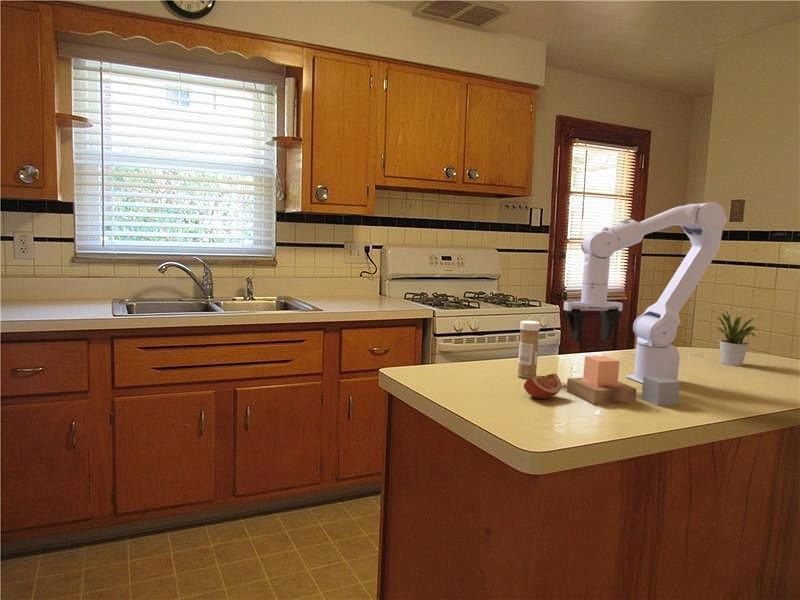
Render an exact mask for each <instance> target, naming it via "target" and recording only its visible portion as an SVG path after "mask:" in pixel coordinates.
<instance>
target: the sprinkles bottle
mask: <svg viewBox="0 0 800 600" xmlns="http://www.w3.org/2000/svg"><path fill="white" fill-rule="evenodd" d="M519 324H520V326H519V329H520V334H519V335H520V336H519V337H520V338H519V347H518V360H517V362H518V365H517V366H518V368H517V377H518V378H521V379H526V380H528V379H529V378H530V377H533V376H538V375H537V367H538V366H537V365H538V353H539V351H538V350H539V333H540V330H541V329H540V328H541V323H540V322H539V321H536V320H521V321H520V323H519Z"/></svg>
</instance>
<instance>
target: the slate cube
mask: <svg viewBox="0 0 800 600" xmlns="http://www.w3.org/2000/svg"><path fill="white" fill-rule="evenodd" d="M680 385H681V381H679V380H677V381H676V380H674V379H671V378H668V377H665V376H644V377H643V383H642V388H641V400H642V401H644V402H648V403H650V404H652V405H654V406H656V407H662V406H663V407H665V406H666V405H668V406H678V405H679V396H680Z"/></svg>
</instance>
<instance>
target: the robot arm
mask: <svg viewBox="0 0 800 600" xmlns="http://www.w3.org/2000/svg"><path fill="white" fill-rule="evenodd" d="M727 223H728V218H727V215H726V213H725V209H724V207H723V205H721V204H720V203H718V202H715V201H709V202H704V203H687V204H684V205H679V206H675V207H673V208H669V209H667V210H665V211H663V212H661V213H659V214H655V215H653V216H650V217H648V218H645V219H644V220H641V221H637V220H635V219H629V218H623V219H621V220H620V223H618V224H615V225H612V226H610V227H608V226H605V227H602V228H601V232H590V233H588V234H587V235H586V236H585V237H584V238H583V240H582V243H580V248H581V251H582V253H583V254H584V260H583V272H582V284H581V285H582V286H581V296H580V298H581V299H580V300H577V301H576V300H575V301H573V300H572V301H564V302H563V310H564V315H565V317H566V319H567V321H568V324H569V326H570V330H571V335H572V336H571V337H572V341H574V342H576V343H579V342H581V338H582V330H583V323H584V320H585V317H586V314H585V313H582V312H583V311H589V312H590V311H591V312H592V311H599V314H600V322H601V323H600V324H601V327H600V340H601V341H604V342H610V341H609V340H610V337H611V336H612V335H611V334H612V332H613V330H614V327H615V325H616V324H617V322H618V321H619V319H620V318H621V317H622V311H623V304H624V303H623V302H619V301H608V289H609V288H608V287H609V276H610V275H609V274H610V263H611V262H610V261H611V260H610V259H611V257H612V256H613V255H614V253H615V252H617V251H621V250H623V249H626V248H628V247H631V246H634V245H636V244H637V245H638V244H640V243H641V242H642V241H643V238H644V237H645V235H648V234H651V233H654V232H658V231H661V230H663V229H666V228H669V227H672V226H677V227H678V226H680V228H681V229H683V232H684V233H685V234H686V235H687V237H688V238H689V241H690V243H691V248H690V249H689V251H688V252H687V254H686V255H685V257H684V259H683V260H682V262H681V263H680V265H679V266H678V268H677V269H676V271H675V273H674V274H673V276H672V277H671V279H670V280H669V282H668V284H667V285H666V287H665V289H664V290H663V291H662V293H661V294H660V296H659V298H658V300H657V301H656V302H655V303H653V304H651V305H649V306H648V307H647V308H646V309H645V311H644V312H643V313H642V314H641V315H639V316H638V317H636V319H635V320H634V322H633V324H632V331H633V333H634V335H635V336H636V346H635V358H634V359H635V361H634V370H633V371H634V372H633V374H626V375H625V377H626V378H629V379H631V380H633V381H636V382H638V383H640V384H643V377H644V376H665V377H668V378H671V379H674V380H676V381H679V379H678V378H679V369H680V368H679V367H680V357H681V356H680V352H679V349H678V348H677V346H675V345H673V344H672V343H673V342H674V341H675V339H676V338H677V337H676V336H677V332H678V327H679V325H680V324H681V317H680V311H681V310H682V309H683V307H684V305H685V304H686V303H687V301H688V299H689V297H690V296H691V294H692V293H693V291H694V289H695V288H696V286H697V285H698V283H700V282H699V281H700V280H701V279H702V277H703V275H704V274H705V272H706V271H707V269H708V268H709V267H710V265H711V263H712V262H713V260H714V258H715V256H716V255H717V254H718V252H719V250H720V248H721V244H722V236H723V230H724V227H725V226H726V225H727Z"/></svg>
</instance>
